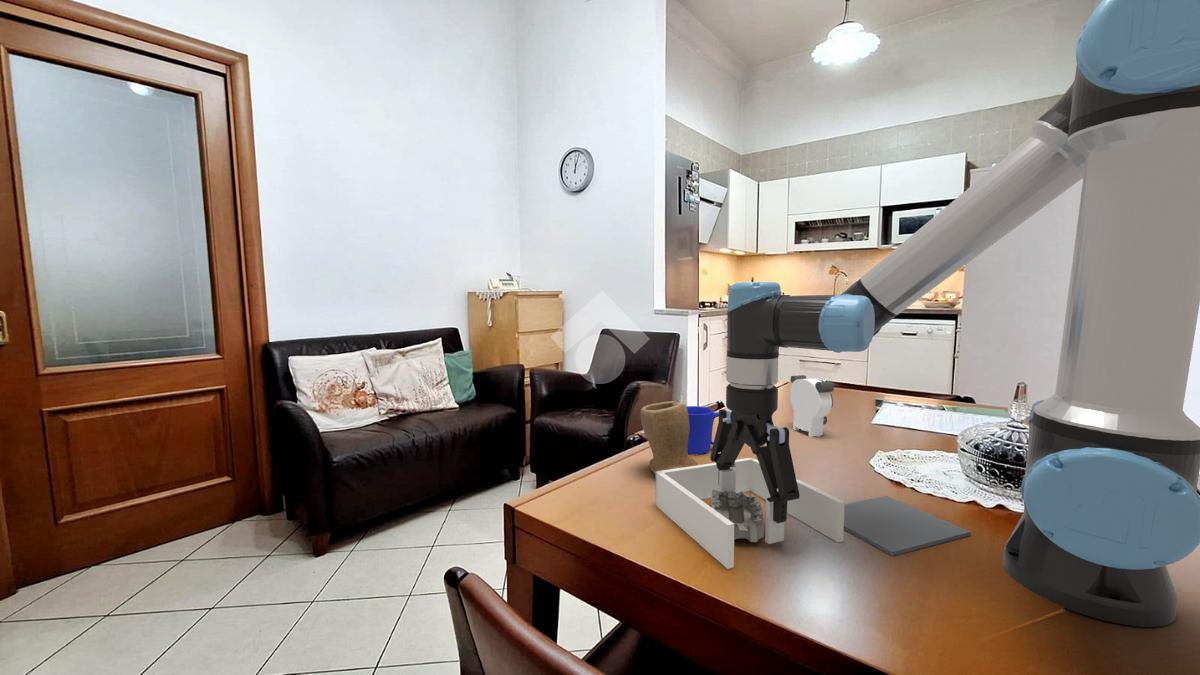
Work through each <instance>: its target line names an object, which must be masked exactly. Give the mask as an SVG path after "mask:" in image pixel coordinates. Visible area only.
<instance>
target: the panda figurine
mask: <svg viewBox="0 0 1200 675" xmlns="http://www.w3.org/2000/svg"><path fill="white" fill-rule="evenodd" d="M789 380H790V383H791V386H790V389H789V399H790V400H789V401H790V405H791V407H792V409H793V423H792V424H793V425H792V430H793V429H794V430H796V431H803V432H808V437H809V436H810V437H809V438H813V437H812V436H817V437H822V436H823V432H824V426H825V425H826V424H827V423H828V418H827V416H828V414H829V413H830V411H831V410H832V408H833V406H834V398H833V395H832V393H833V391H834V389H835V388H834V387H835V386H834V383H833V382H832V381H829V380H828V381H822V380H820V379H817V378H807V376H806V375H803V374H801V375H799V374H798V375H791V376H790V379H789ZM831 392H832V393H831ZM799 429H801V430H799ZM794 430H793V431H794ZM821 435H822V436H821Z"/></svg>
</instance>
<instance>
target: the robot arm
mask: <svg viewBox="0 0 1200 675" xmlns="http://www.w3.org/2000/svg"><path fill="white" fill-rule="evenodd" d="M1075 59H1076V60H1075V61H1076V65H1075V67H1076V68H1075V74H1074V79H1073V82H1072V83H1071V85H1070V86H1069V87H1068V88H1067V90H1066V91H1065V93H1064V94H1063V95H1062V96H1061V98H1060V99H1059V100H1057V102H1056V103H1054V105H1053V106H1052V107H1051V108H1050V109H1048V110H1047V111H1046V112H1045V113H1044V114H1042V115H1041V116H1040V117H1039V118H1038V119H1037V120H1035V122H1033V124H1032V130H1031V135H1030V137H1029V138H1027V139H1026V140H1025V141H1023V142H1022V143H1021V144H1020V145H1019V146H1018V147H1017V148H1015V149H1014V150H1013V151H1011V152H1010V153H1008V154H1007V156H1006V157H1004V158H1003V159H1002V160H1001V161H1000V162H998V163H997V164H996V165H995V166H993V167H992V168H991V169H990V170H989V171H987V172H986V173H985V174H984V175H983V176H982V177H980V178H979V179H978V180H977V181H975V182H974V183H973V184H972V185H971V186H969V187H968V188H967V189H966V190H965V191H963V192H962V193H961V194H959V196H957V197H956V198H955V199H954V200H952V202H950V203H949V204H948V205H946V206H945V207H944V208H943V209H941V211H939V212H938V213H936V215H935V216H933V217H932V218H931V219H930V220H929V221H927V222H926V223H925V224H924V225H922V226H921V227H920V228H919V229H917V231H915V232H914V233H913V234H912V235H911V236H909V237H908V238H906V239H905V240H904V241H903V242H902V243H901V244H900V245H898V246H897V247H896V248H895V249H894V250H892V251H891V252H890V253H889V254H887V255H886V256H885V257H884V258H882V259H881V261H879V262H878V263H876V265H874V266H873V267H872V268H871V269H869V270H868V271H867V272H866V273H865V274H863V275H862V276H861V277H860V278H859V279H858V280H857V281H856V282H854V283H853V284H851V285H850V286H849V287H848V288H847V289H845V290H844V291H843V292H842V293H841V294H812V295H811V294H810V295H809V294H808V295H806V294H805V295H790V294H789V295H786V294H782V291H781V285H780V283H779V282H775V281H758V282H757V281H756V282H754V281H753V282H752V281H749V282H744V281H743V282H734V283H733V284H731V285H730V287H729V289H728V295H727V296H728V298H727V308H726V315H727V317H726V318H727V319H726V320H727V322H726V323H727V324H726V325H727V326H726V327H727V329H726V330H727V331H726V332H727V337H726V338H727V340H726V341H727V349H726V366H725V367H726V368H725V369H726V371H725V373H726V374H725V380H726V381H727V382H728V383H729V384H727V385H726V387H725V388H726V389H725V393H726V394H725V407H726V408H723V409H719V410H718V413H719V416H718V422H717V427H716V431H715V436H714V439H713V442H714V443H713V445H712V449H711V452H710V457H709V458H710V461H711V462H712V463H716V466H717V468H718V469H719V476H718V477H719V478H718V479H719V480H718V483H719V491H720V492H725V491H728V492H735V490H736V470H735V469H730V467H735V466H736V465H735V464H734V462H735V460H737V458H738V457H739V454H740V453H741V452H742V449H743V448H744V445H747V447H749V448H750V449H751V452H752V454H754V455H755V456H756V458H757V460H758V462H759V464H760V467H761V470H762V473H763V476H764V479H765V482H766V485H767V488H768V491H769V494H770V496H771V497H769V498H766V500H765V502H766V503H765V527H764V537H765V539H764V542H765V543H766V544H768V545H770V544H775V543H779V542H783V541H785V523H786V522H787V519H788V516H787V515H788V513H787V501H790V500H795V499H799V497H800V495H799V490H798V485H797V481H796V479H797V476H796V471H795V466H794V462H793V458H792V457H793V456H792V453H791V449H790V448H791V447H790V430H789V428H788V427H787V426H786V427H783V426H782V427H778V426H776V425H775V424H774V421H773V414H774V413H775V412H777V410H778V408H779V407H778V404H779V403H778V402H779V388H778V387H777V386H776V385H777V383H778V382H779V357H780V348H784V349H785V348H787V349H788V348H792V349H793V348H794V349H804V350H815V351H816V350H818V351H826V352H827V351H828V352H833V353H849V352H852V353H854V352H855V353H859V352H864V351H866V350H867V349H868V348H869V347H870V345H871V342H873V337H875V336H876V335H877V334H878V333H879V332H880V331H881V329H882V328H883V327H884V326H885V325H886V324H888V323H890V322H891V321H893V319H895V317H897V316H898V315H899V314H901V313H903V311H904V310H906V309H908V308H909V307H910V306H911V305H913V304H914V303H916V302H917V301H919V300H920V299H921V298H923V297H924V296H925V295H926V294H928V293H929V292H931V291H932V290H934V289H936V287H937V286H938V285H940V284H941V283H942V282H944V281H945V280H947V279H948V278H950V277H951V276H952V275H954V274H955V273H957V272H958V271H959V270H960V269H962V268H964V266H966V265H967V264H968V263H970V262H971V261H973V260H974V259H975V258H977V257H979V255H981V254H982V253H984V252H986V251H987V249H989V248H990V247H991V246H993V245H994V244H996V243H997V242H999V241H1000V240H1001V239H1002V238H1004V237H1006V235H1008V234H1009V233H1011V231H1013V230H1015V229H1016V228H1017V227H1018V226H1020V225H1021V224H1023V223H1025V222H1026V221H1027V220H1029V218H1032V216H1034V215H1035V214H1036V213H1037V212H1039V211H1040V210H1042V209H1043V208H1044V207H1045V206H1048V204H1050V203H1051V202H1053V201H1054V200H1056V199H1057V198H1058V197H1059V196H1061V195H1062V194H1063V193H1064V192H1066V191H1067V190H1069V189H1070V188H1072V187H1073V186H1074V185H1075V184H1077V183H1078V182H1080V181H1081V180H1082V186H1081V192H1080V200H1079V201H1080V202H1079V209H1078V215H1077V216H1078V217H1077V222H1076V223H1077V225H1076V232H1075V239H1074V247H1073V248H1074V249H1073V254H1072V263H1071V271H1070V278H1069V286H1068V293H1067V300H1066V306H1065V307H1066V308H1065V314H1064V315H1065V316H1064V324H1063V332H1062V340H1061V345H1060V356H1059V362H1058V370H1057V378H1056V384H1055V385H1056V386H1055V392H1054V394H1052V396H1051V397H1049V398H1047V399H1045V400H1043V399H1042V400H1041V399H1040V400H1038V401H1035V402H1034V403H1033V404H1032V406H1031V409H1030V416H1028V418H1027V423H1028V424H1029V428H1028V429H1029V430H1028V441H1027V444H1028V445H1027V454H1026V455H1027V456H1026V462H1025V463H1026V465H1025V471H1024V472H1025V473H1024V476H1023V478H1022V481H1021V486H1020V494H1021V500H1023V513H1022V514H1021V517H1020V519H1019V520H1018V522H1017V524H1016V525H1015V526H1014V529H1013V531H1012V533H1011V534H1010V536H1009V538H1008V540H1007V542H1006V544H1005V546H1004V547H1003V555H1002V567H1003V568H1004V570H1005V572H1006V573H1007V574H1008V575H1009V576H1010V577H1011V578H1012V579H1013V581H1014V580H1015V581H1016V582H1017V583H1018V584H1019V585H1021V586H1023V587H1024V588H1026V589H1028V590H1029V591H1031V592H1033V593H1034V594H1036V595H1038V596H1039V597H1043V598H1044V599H1047V600H1049V601H1051V602H1052V603H1055V604H1059V605H1060V606H1063V607H1064V609H1066V610H1069V611H1071V612H1075V613H1077V614H1081V615H1083V616H1084V615H1085V616H1088V617H1090V618H1095V619H1098V620H1100V621H1101V620H1102V621H1105V622H1109V623H1114V624H1121V625H1126V626H1133V627H1145V628H1151V627H1152V628H1153V627H1154V628H1155V627H1163V626H1167V625H1171V624H1172V623H1173V622H1174V621H1175V620H1176V619H1177V611H1178V610H1177V609H1178V595H1177V592H1176V589H1175V586H1174V583H1173V580H1172V578H1171V575H1170V572H1169V569H1168V567H1167V566H1168V565H1173V564H1175V563H1177V562H1180V561H1181V560H1183V559H1185V558H1186V557H1188V556H1189V555H1190V554H1192V553H1193V552H1194V551H1195V550H1196V549H1197V548H1198V546H1199V545H1200V494H1199V493H1198V491H1197V490H1198V484H1199V478H1200V426H1199V425H1198V424H1197V423H1195V421H1193V420H1192V419H1191V418H1190V417H1189V416H1187V414H1186V413H1185V411H1184V403H1185V398H1186V391H1187V385H1188V378H1189V374H1190V366H1191V362H1192V361H1191V360H1192V355H1193V354H1192V353H1193V349H1194V342H1195V335H1196V330H1197V329H1196V328H1197V323H1198V318H1199V311H1200V0H1102V1H1101V2H1100V3H1099V4H1098V5H1097V7H1096V8H1095V9H1094V11H1093V12H1092V14H1091V15H1090V16H1089V18H1088V20H1087V21H1086V24H1085V25H1084V26H1083V29H1082V31H1081V33H1080V35H1079V36H1078V39H1077V42H1076V48H1075ZM765 444H766V445H765ZM734 465H735V466H734ZM777 488H778V491H777Z"/></svg>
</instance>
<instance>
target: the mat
mask: <svg viewBox="0 0 1200 675" xmlns="http://www.w3.org/2000/svg"><path fill="white" fill-rule="evenodd" d="M844 531H846V532H848V533H849V534H851V535H852V536H855V537H857V538H858V539H860V540H862V541H864V542H866V543H868V544H869V545H871V546H873V547H875V548H876V549H879V550H880V551H882V552H884V553H885V554H887V555H890V556H891V557H894V556H898V555H901V554H907V553H910V552H915V551H917V550H918V551H919V550H921V549H924V548H928V547H931V546H936V545H940V544H945V543H947V542H951V541H955V540H959V539H963V538H967V537H970V536H972V534H971V533H972V531H970V530H968V529H966V528H964V527H960V526H958V525H957V524H954V523H951V522H949V521H947V520H945V519H942V518H940V517H937V516H935V515H932V514H930V513H927V512H926V511H923V510H921V509H918V508H916V507H913V506H911V505H910V504H908V503H904V502H903V501H902V502H901V501H900V500H897V499H895V498H893V497H890V496H889V495H888V496H887V495H883V496H880V497H879V496H878V497H874V498H870V499H869V498H868V499H865V500H860V501H855V502H849V503H844Z"/></svg>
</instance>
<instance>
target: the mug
mask: <svg viewBox="0 0 1200 675" xmlns="http://www.w3.org/2000/svg"><path fill="white" fill-rule="evenodd" d="M685 406H686V405H685ZM686 408H687V410H688V417H689V426H690V431H689V438H688V446H687V453H689V454H688V455H691V454H702V455H705V454H704V453H706V454H708V453H709V452H710V449H711V445H712V446H713V443H714V441H712V440H713V429H714V427H713V426H714V422H715V419H716V417H719V412H714V410H713V409H712V408H711V407H710V408H709V407H705V406H700V405H699V406H697V405H689V406H688V405H687V406H686ZM707 452H708V453H707Z"/></svg>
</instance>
